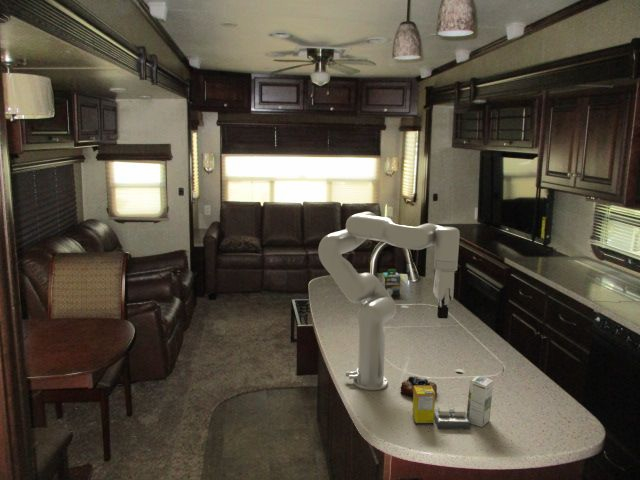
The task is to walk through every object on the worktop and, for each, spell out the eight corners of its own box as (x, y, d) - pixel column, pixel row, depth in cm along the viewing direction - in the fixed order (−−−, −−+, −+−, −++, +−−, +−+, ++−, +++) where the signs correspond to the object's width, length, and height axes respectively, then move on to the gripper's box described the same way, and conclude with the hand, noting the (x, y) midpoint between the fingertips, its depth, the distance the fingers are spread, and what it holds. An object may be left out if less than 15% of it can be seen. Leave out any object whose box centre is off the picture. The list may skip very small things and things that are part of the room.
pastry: (411, 383, 206) (412, 369, 205) (441, 393, 199) (442, 378, 198) (396, 394, 197) (397, 379, 196) (427, 405, 190) (427, 389, 189)
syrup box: (473, 415, 183) (476, 374, 180) (490, 421, 180) (493, 379, 177) (465, 421, 179) (468, 380, 176) (483, 428, 175) (486, 386, 172)
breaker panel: (437, 428, 175) (438, 420, 174) (433, 415, 182) (433, 408, 182) (469, 429, 174) (470, 421, 174) (463, 416, 182) (464, 409, 182)
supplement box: (429, 415, 183) (431, 385, 180) (433, 425, 177) (435, 393, 175) (411, 415, 182) (413, 385, 180) (415, 425, 177) (417, 393, 174)
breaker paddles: (438, 415, 178) (439, 411, 177) (437, 410, 179) (438, 406, 178) (464, 415, 178) (465, 411, 177) (463, 411, 179) (464, 407, 178)
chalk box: (396, 291, 323) (398, 266, 320) (400, 295, 314) (401, 270, 311) (381, 291, 322) (382, 266, 319) (384, 295, 313) (385, 270, 310)
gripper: (430, 259, 189) (427, 310, 192) (438, 270, 174) (435, 325, 178) (452, 259, 189) (448, 310, 192) (462, 270, 174) (458, 325, 178)
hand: (442, 317), depth 185 cm, fingers closed
